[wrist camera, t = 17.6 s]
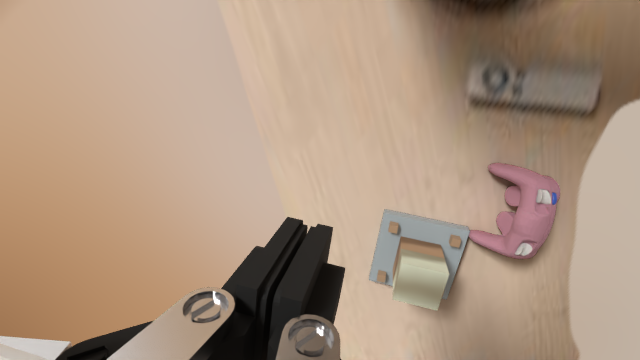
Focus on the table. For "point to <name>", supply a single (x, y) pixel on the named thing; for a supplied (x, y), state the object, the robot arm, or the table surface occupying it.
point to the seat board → (419, 229)
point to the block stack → (419, 273)
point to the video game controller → (522, 213)
